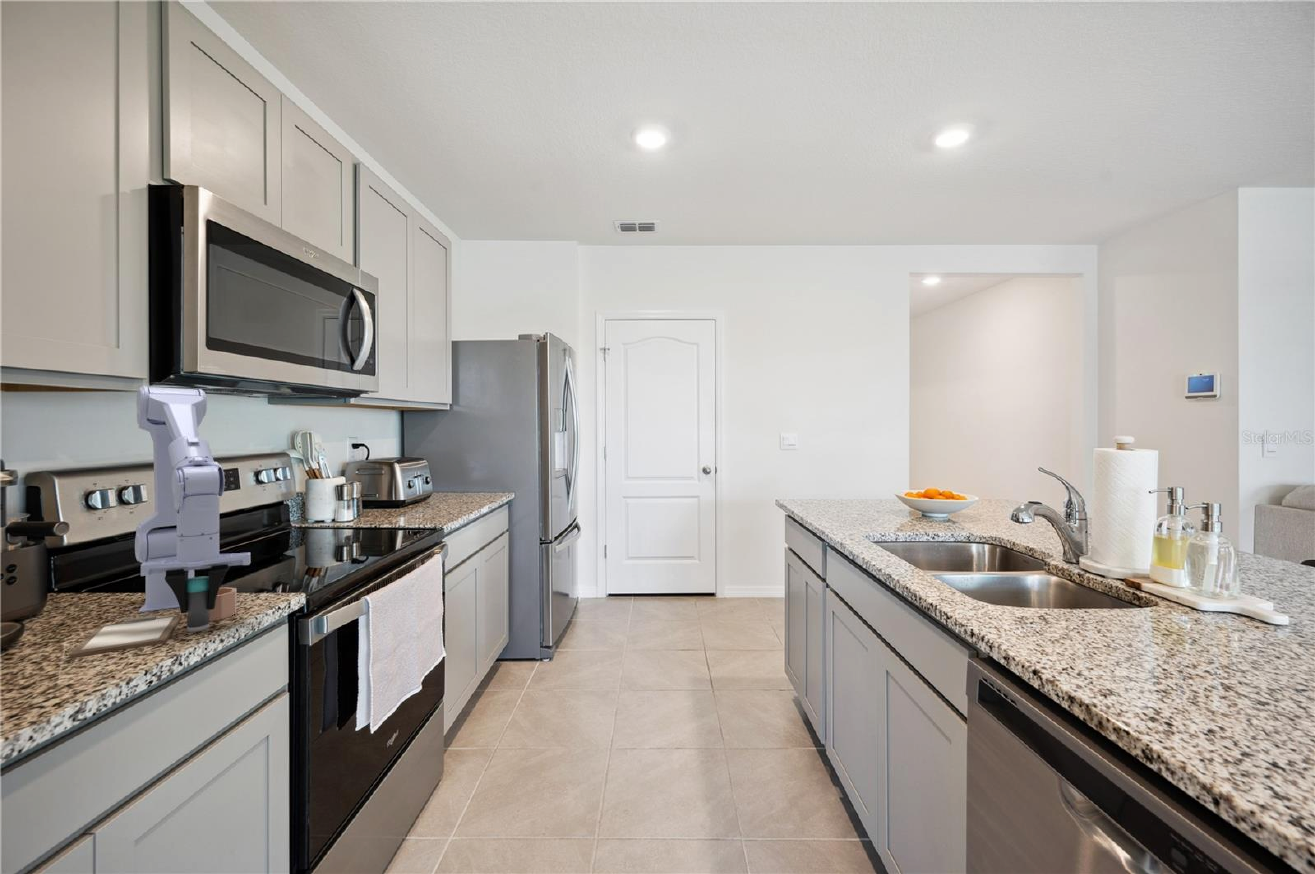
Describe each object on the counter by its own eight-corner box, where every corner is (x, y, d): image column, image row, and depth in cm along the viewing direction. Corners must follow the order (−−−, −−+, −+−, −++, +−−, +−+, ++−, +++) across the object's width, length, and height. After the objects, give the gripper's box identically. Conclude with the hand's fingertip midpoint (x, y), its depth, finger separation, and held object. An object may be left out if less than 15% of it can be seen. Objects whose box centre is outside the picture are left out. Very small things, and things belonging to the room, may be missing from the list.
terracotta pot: (196, 614, 101) (196, 590, 101) (237, 608, 104) (237, 585, 104) (190, 624, 95) (190, 599, 95) (234, 617, 99) (234, 593, 99)
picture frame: (98, 629, 93) (98, 623, 93) (181, 617, 99) (181, 611, 99) (69, 658, 81) (69, 650, 81) (165, 642, 87) (165, 635, 87)
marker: (187, 628, 94) (188, 577, 94) (211, 624, 95) (211, 575, 95) (184, 633, 91) (184, 582, 91) (208, 630, 93) (208, 579, 93)
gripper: (135, 542, 86) (135, 624, 86) (248, 533, 94) (247, 608, 94) (146, 534, 92) (146, 612, 92) (251, 527, 100) (251, 598, 100)
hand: (198, 610), depth 93 cm, fingers closed on marker, 3 cm apart
